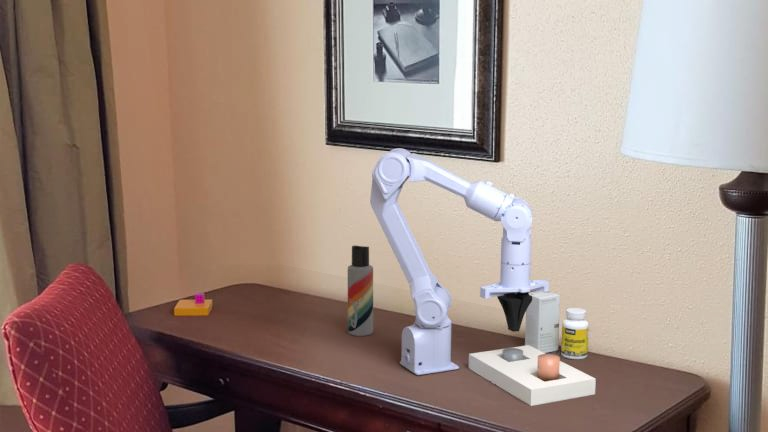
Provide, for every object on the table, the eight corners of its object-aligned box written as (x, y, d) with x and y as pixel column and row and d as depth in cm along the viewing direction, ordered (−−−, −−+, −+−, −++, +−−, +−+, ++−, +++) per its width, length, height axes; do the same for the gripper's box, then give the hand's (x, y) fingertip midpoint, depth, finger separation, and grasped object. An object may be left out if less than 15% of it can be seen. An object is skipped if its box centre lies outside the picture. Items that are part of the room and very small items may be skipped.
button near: (545, 383, 169) (545, 362, 168) (532, 376, 173) (533, 355, 172) (563, 380, 171) (564, 359, 170) (550, 373, 174) (551, 352, 174)
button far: (509, 375, 180) (509, 355, 179) (498, 369, 184) (498, 349, 183) (526, 372, 182) (527, 352, 181) (515, 366, 185) (515, 347, 185)
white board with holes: (530, 405, 165) (531, 389, 164) (468, 368, 184) (468, 353, 184) (595, 394, 170) (595, 378, 170) (528, 359, 190) (528, 345, 190)
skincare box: (537, 355, 193) (539, 298, 191) (523, 349, 196) (525, 294, 194) (559, 350, 196) (561, 294, 194) (544, 345, 200) (546, 290, 198)
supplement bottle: (560, 358, 190) (562, 312, 189) (561, 350, 196) (563, 305, 194) (587, 361, 189) (589, 314, 188) (587, 352, 195) (589, 307, 193)
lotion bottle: (343, 334, 206) (343, 246, 203) (353, 327, 212) (353, 241, 208) (367, 337, 204) (367, 248, 201) (376, 330, 209) (377, 243, 206)
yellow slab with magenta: (208, 317, 221) (207, 299, 221) (174, 317, 221) (173, 299, 220) (212, 308, 229) (212, 291, 229) (179, 308, 229) (179, 291, 228)
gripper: (494, 269, 172) (492, 340, 175) (559, 263, 178) (556, 331, 181) (475, 262, 179) (473, 330, 181) (538, 255, 185) (535, 321, 187)
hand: (513, 330), depth 181 cm, fingers closed
